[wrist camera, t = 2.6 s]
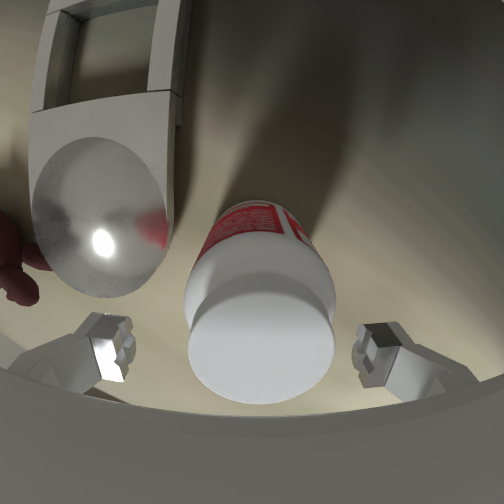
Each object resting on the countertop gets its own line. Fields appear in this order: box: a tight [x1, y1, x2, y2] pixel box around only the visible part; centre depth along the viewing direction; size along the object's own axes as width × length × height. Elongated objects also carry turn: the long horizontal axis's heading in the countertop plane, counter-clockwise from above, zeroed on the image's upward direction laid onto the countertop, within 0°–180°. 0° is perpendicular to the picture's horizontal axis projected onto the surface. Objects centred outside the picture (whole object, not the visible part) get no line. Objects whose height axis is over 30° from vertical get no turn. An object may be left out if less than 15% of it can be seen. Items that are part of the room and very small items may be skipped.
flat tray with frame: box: [28, 0, 193, 298], centre depth 13 cm, size 32×10×3 cm, turn 177°
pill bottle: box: [184, 200, 336, 404], centre depth 14 cm, size 6×6×11 cm
